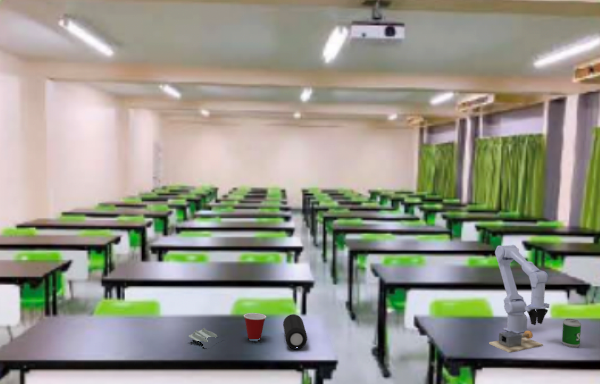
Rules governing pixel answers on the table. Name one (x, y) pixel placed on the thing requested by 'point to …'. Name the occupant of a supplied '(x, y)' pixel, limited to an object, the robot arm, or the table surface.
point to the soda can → (571, 333)
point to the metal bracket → (202, 335)
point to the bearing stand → (514, 342)
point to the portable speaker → (294, 331)
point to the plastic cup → (254, 324)
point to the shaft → (527, 334)
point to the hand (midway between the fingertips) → (536, 323)
